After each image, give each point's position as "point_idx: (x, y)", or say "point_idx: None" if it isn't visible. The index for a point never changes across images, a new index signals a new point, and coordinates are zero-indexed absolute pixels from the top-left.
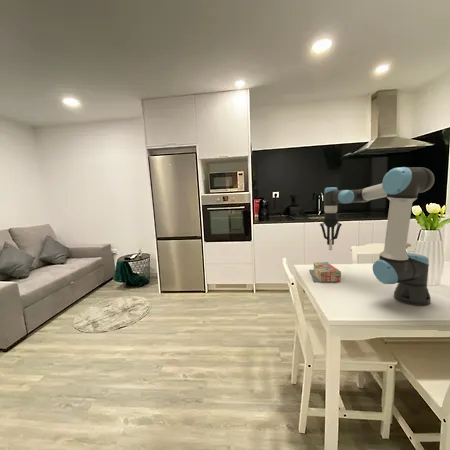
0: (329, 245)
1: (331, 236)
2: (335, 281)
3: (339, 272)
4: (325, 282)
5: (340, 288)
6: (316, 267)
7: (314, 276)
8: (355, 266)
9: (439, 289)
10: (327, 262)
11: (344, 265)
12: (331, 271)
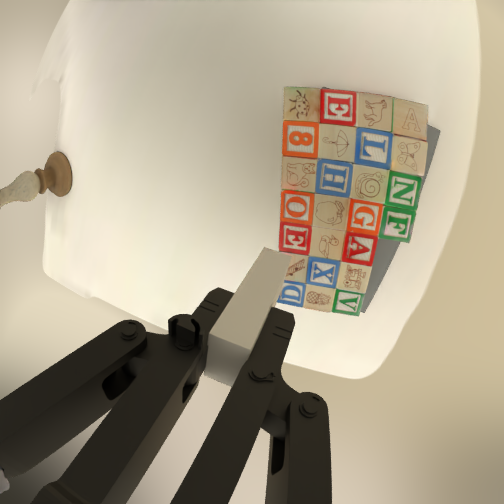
0: (275, 296)
1: (183, 403)
2: None
3: (293, 88)
4: None
5: (337, 16)
6: (406, 214)
7: None
8: (146, 295)
9: (47, 58)
10: None
11: None
12: (348, 99)
